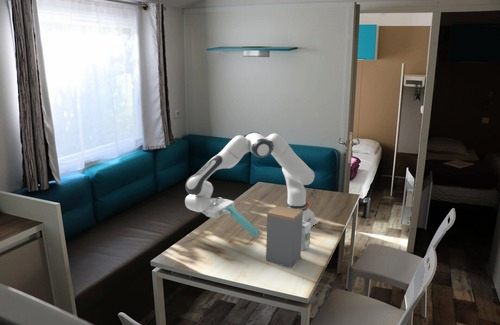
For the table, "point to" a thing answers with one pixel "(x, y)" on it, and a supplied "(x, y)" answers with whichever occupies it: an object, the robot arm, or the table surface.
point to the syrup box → (305, 235)
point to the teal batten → (243, 222)
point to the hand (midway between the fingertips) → (233, 211)
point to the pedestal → (284, 235)
